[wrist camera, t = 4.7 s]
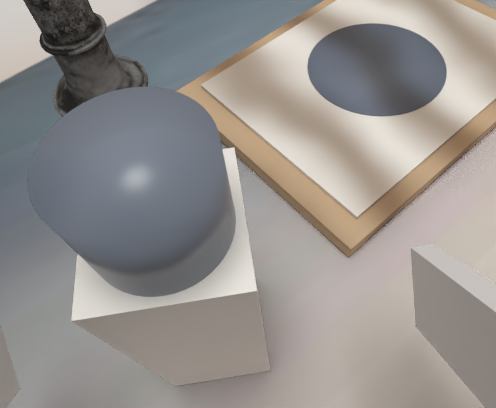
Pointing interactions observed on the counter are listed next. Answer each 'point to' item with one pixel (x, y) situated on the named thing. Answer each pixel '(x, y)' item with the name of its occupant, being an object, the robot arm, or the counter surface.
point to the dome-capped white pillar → (154, 233)
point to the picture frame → (358, 106)
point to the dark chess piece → (82, 53)
